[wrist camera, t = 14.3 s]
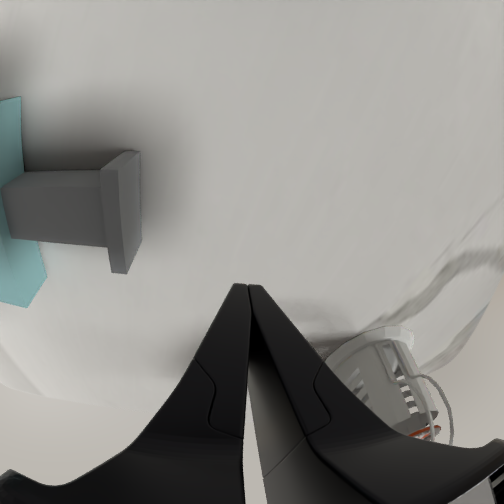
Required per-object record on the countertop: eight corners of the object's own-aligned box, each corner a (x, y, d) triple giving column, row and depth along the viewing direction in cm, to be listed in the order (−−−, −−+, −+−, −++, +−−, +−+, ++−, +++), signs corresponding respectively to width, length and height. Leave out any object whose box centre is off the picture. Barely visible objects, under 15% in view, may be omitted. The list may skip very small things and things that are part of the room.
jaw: (144, 80, 10) (119, 79, 8) (146, 289, 17) (134, 327, 14) (-14, 106, 9) (-49, 118, 6) (15, 271, 15) (-6, 300, 13)
